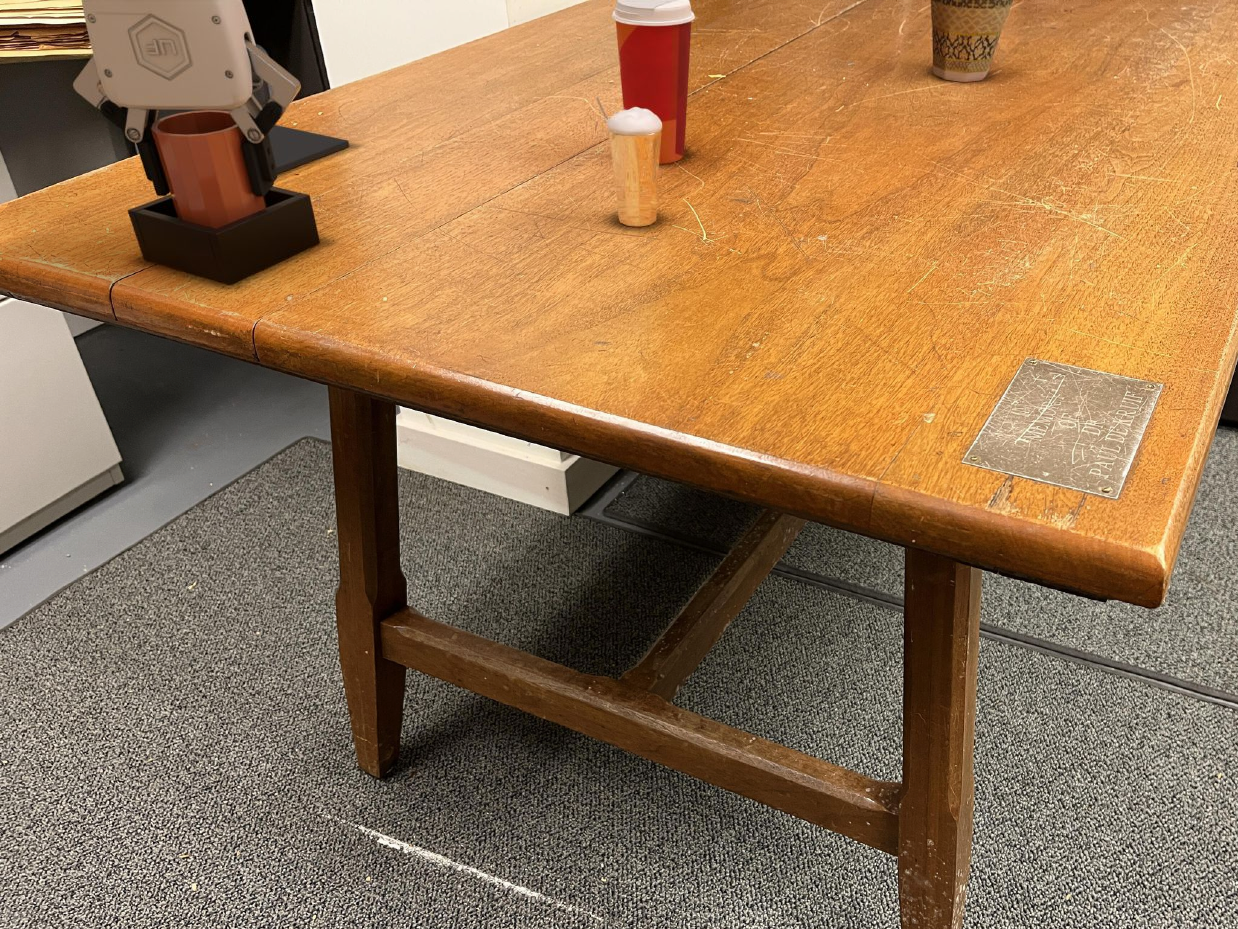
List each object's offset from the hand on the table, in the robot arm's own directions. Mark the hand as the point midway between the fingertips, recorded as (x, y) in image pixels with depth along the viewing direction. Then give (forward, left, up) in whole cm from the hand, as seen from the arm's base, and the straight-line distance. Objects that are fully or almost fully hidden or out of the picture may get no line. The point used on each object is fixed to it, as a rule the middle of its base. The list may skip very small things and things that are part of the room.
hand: (216, 188), depth 82 cm
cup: (0, 0, -5) cm, 5 cm away
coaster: (-16, +19, -5) cm, 25 cm away
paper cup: (+17, +38, -5) cm, 42 cm away
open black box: (0, 0, -5) cm, 5 cm away
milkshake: (+24, +22, -5) cm, 33 cm away
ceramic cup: (+34, +86, -5) cm, 93 cm away
